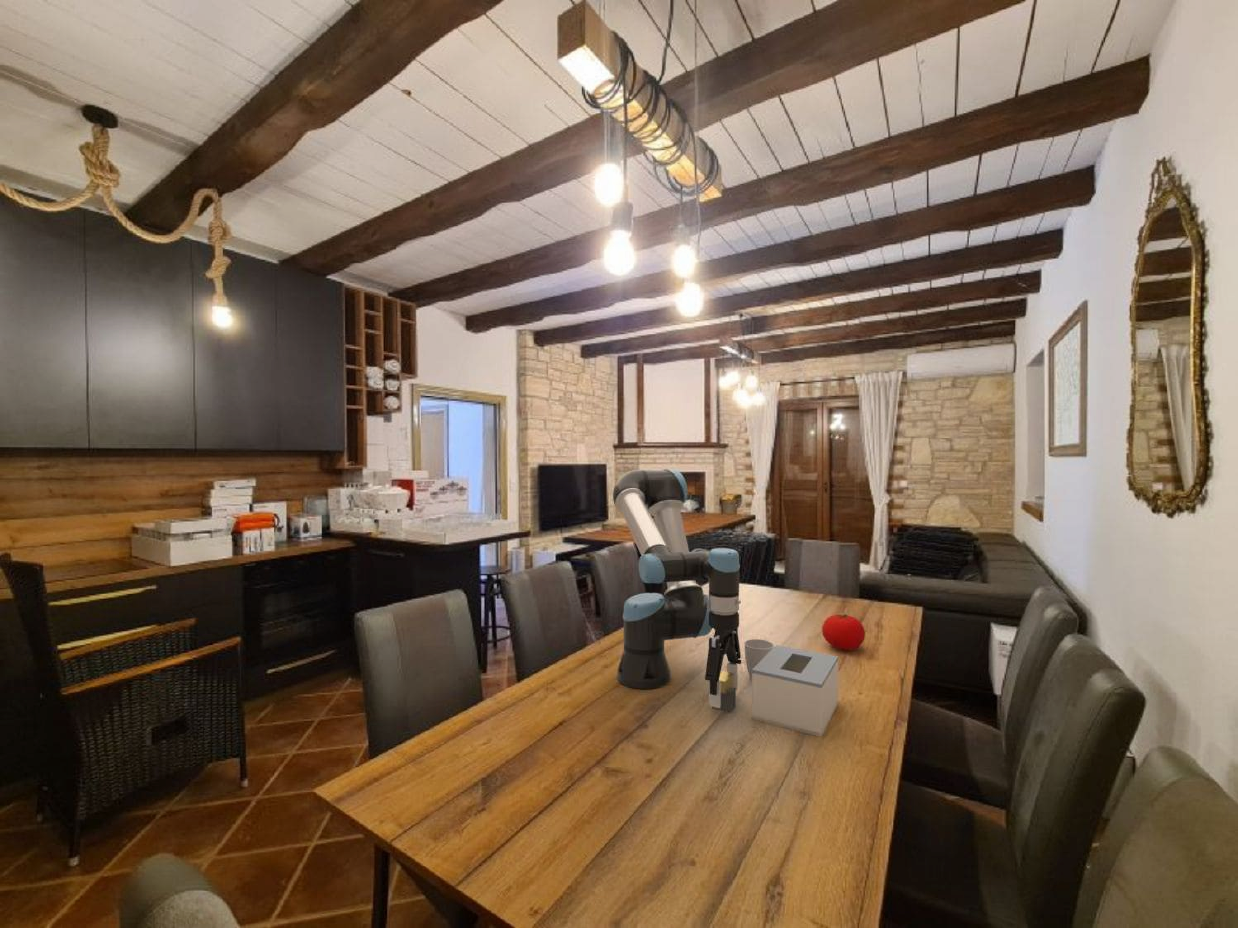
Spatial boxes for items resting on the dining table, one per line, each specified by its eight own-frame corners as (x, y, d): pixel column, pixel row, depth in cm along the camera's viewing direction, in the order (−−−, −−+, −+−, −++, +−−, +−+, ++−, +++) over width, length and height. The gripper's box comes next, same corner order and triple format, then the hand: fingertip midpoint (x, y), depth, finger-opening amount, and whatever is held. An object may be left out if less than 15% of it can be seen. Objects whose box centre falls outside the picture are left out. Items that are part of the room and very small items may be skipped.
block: (711, 707, 137) (711, 688, 137) (716, 702, 140) (717, 683, 140) (730, 712, 134) (730, 692, 134) (735, 707, 137) (735, 687, 137)
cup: (774, 685, 150) (774, 649, 150) (744, 683, 151) (744, 647, 151) (772, 674, 158) (772, 640, 157) (743, 671, 159) (743, 638, 159)
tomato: (873, 651, 176) (873, 617, 176) (841, 656, 171) (841, 622, 171) (845, 639, 187) (845, 608, 187) (815, 644, 182) (815, 612, 182)
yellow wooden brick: (713, 690, 135) (713, 678, 135) (722, 682, 140) (722, 670, 140) (725, 693, 134) (725, 681, 133) (733, 684, 139) (733, 673, 139)
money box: (752, 718, 131) (752, 669, 131) (775, 688, 148) (776, 644, 148) (821, 737, 122) (821, 684, 122) (838, 702, 139) (838, 656, 139)
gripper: (720, 625, 125) (720, 720, 125) (753, 602, 144) (753, 683, 145) (690, 620, 129) (690, 712, 129) (726, 598, 148) (726, 677, 149)
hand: (723, 697), depth 137 cm, fingers open, 11 cm apart
